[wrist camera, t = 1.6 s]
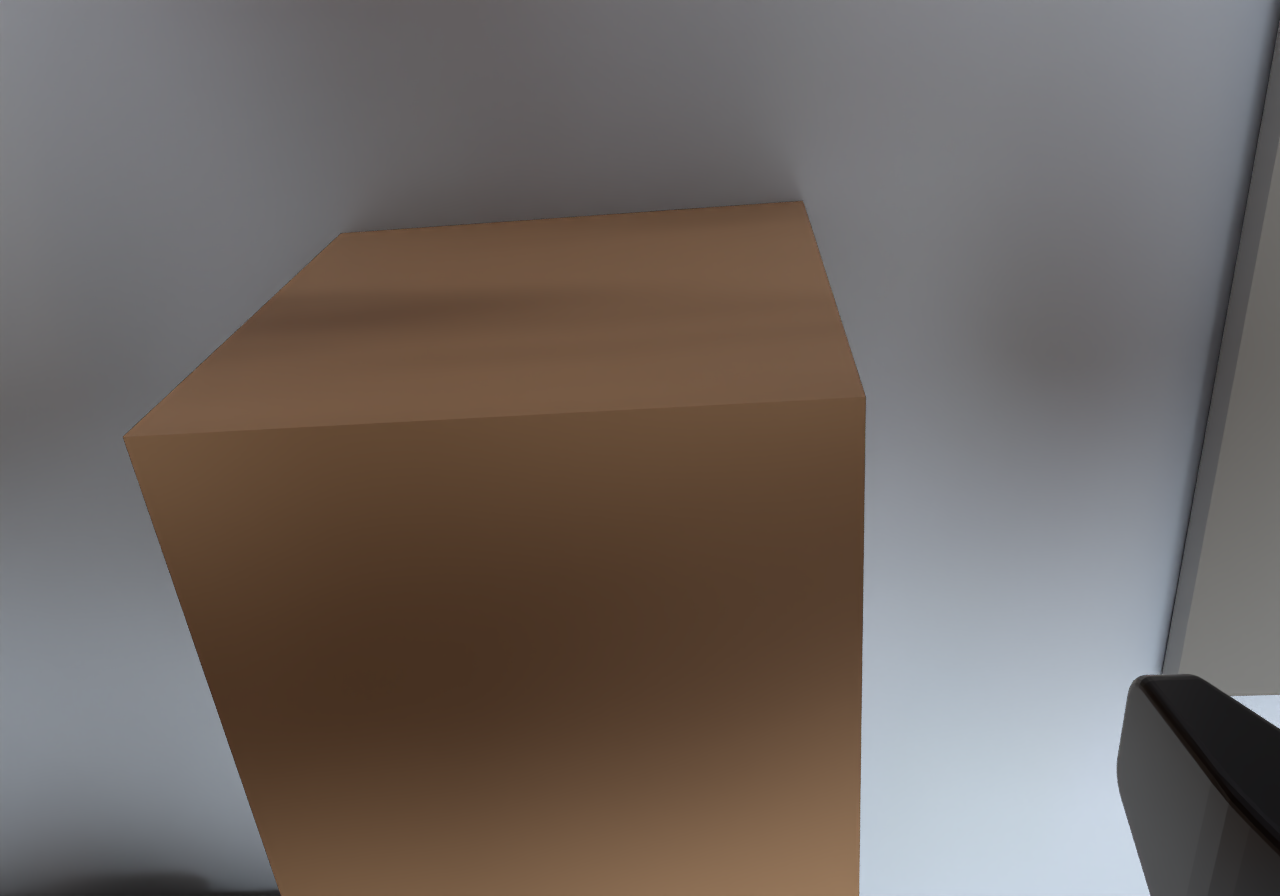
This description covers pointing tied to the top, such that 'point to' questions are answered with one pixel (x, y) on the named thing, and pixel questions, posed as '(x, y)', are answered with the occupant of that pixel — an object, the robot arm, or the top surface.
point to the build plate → (1240, 463)
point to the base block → (533, 559)
